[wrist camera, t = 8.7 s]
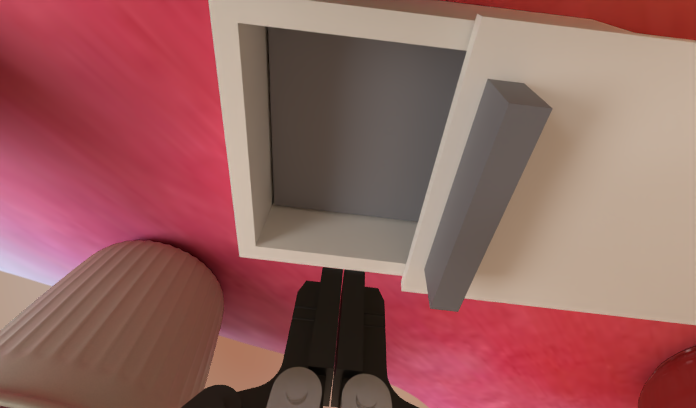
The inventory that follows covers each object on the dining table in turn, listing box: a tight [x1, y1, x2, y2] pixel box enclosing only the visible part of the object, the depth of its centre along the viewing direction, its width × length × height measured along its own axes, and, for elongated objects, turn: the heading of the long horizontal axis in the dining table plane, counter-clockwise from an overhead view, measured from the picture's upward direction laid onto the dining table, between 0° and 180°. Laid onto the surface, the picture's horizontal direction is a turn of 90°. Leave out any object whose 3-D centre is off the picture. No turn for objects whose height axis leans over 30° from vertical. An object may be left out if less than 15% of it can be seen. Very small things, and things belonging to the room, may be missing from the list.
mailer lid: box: [401, 14, 696, 325], centre depth 18 cm, size 21×17×4 cm
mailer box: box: [208, 0, 634, 276], centre depth 22 cm, size 20×16×7 cm
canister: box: [0, 240, 224, 408], centre depth 28 cm, size 18×18×21 cm
